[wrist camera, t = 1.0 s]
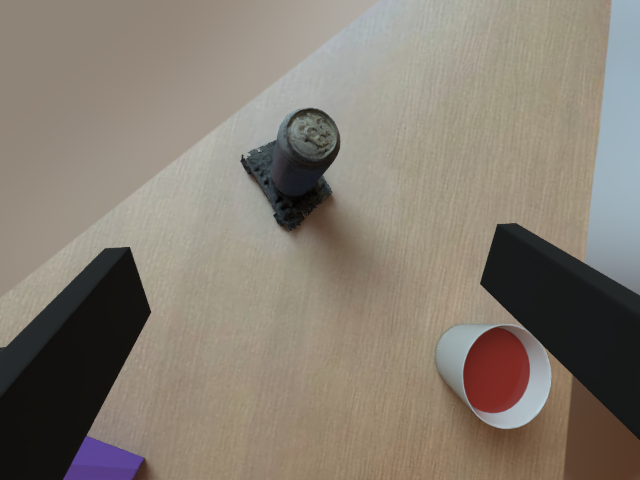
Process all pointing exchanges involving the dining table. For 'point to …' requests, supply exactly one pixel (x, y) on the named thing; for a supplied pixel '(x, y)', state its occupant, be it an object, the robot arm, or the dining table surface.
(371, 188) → the dining table surface
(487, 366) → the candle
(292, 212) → the beverage can
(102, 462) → the bracket
